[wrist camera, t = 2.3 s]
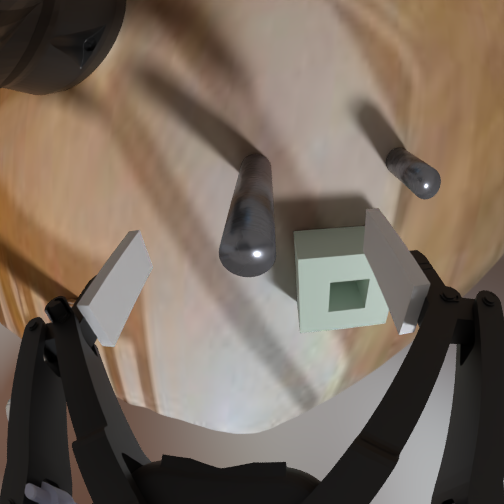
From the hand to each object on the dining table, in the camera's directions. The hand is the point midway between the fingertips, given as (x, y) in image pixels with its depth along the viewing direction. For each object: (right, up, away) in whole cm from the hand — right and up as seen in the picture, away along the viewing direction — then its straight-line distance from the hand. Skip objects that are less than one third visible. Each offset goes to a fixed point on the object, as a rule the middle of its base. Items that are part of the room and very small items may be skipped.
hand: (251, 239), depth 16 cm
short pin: (+14, +8, +8) cm, 18 cm away
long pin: (0, +7, +10) cm, 12 cm away
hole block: (+10, -2, +15) cm, 18 cm away
